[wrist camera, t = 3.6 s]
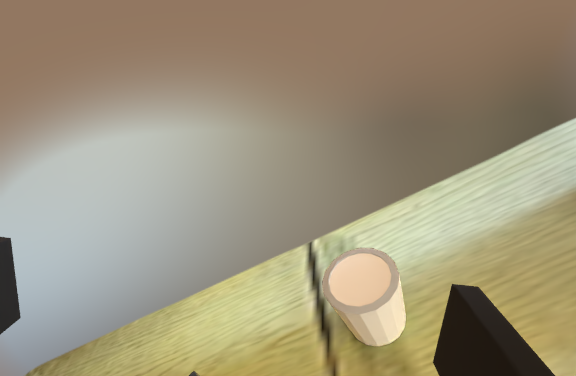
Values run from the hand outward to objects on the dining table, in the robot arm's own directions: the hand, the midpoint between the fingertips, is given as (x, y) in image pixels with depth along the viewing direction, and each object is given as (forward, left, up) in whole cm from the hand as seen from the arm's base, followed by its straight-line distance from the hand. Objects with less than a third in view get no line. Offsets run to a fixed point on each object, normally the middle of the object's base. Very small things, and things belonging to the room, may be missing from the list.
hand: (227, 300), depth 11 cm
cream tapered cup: (-4, -13, -26) cm, 29 cm away
